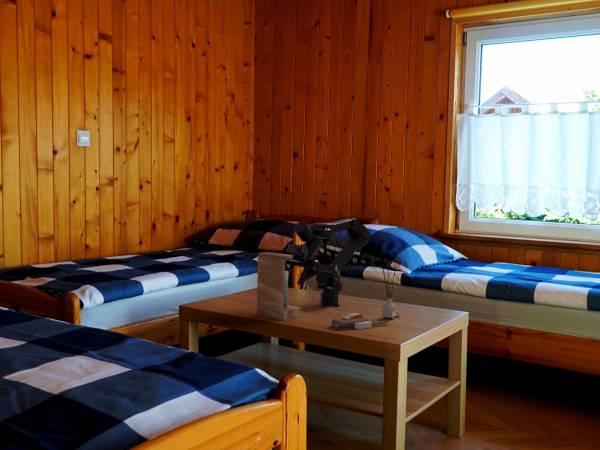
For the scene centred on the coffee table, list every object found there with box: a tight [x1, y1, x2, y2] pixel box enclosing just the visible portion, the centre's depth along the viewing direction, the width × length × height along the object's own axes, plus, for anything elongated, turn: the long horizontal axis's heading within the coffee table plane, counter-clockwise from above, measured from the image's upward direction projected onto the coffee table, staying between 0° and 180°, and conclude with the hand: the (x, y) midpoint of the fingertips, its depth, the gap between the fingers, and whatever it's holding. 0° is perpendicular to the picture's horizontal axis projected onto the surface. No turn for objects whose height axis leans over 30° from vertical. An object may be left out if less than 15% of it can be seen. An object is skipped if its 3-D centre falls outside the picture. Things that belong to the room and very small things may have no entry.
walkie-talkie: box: [331, 312, 389, 331], centre depth 220 cm, size 9×4×20 cm
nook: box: [256, 251, 303, 321], centre depth 233 cm, size 11×12×22 cm
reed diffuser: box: [381, 263, 401, 319], centre depth 233 cm, size 10×7×20 cm
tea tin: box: [284, 271, 289, 308], centre depth 233 cm, size 5×5×13 cm
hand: (288, 282), depth 236 cm, fingers open, 9 cm apart
